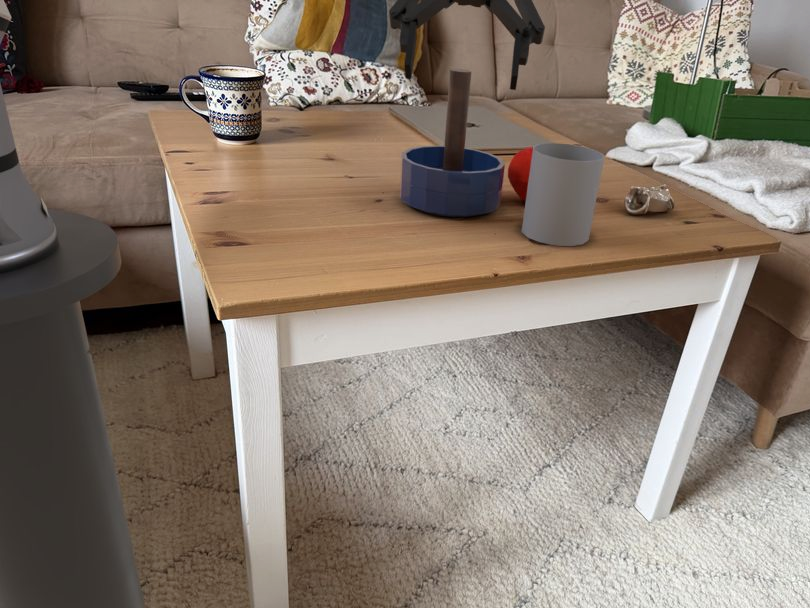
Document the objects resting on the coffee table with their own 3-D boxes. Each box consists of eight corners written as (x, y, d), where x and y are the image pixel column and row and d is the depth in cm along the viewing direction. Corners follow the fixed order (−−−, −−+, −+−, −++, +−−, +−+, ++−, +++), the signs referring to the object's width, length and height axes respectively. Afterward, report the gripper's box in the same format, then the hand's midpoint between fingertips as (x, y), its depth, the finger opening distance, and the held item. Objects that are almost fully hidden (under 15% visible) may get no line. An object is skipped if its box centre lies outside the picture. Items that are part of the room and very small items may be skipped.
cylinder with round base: (435, 203, 87) (444, 71, 79) (432, 193, 91) (441, 66, 83) (468, 205, 88) (481, 74, 80) (464, 194, 91) (476, 69, 83)
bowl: (402, 217, 83) (404, 169, 80) (397, 186, 94) (399, 142, 91) (507, 222, 85) (513, 175, 82) (489, 191, 96) (494, 148, 93)
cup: (548, 249, 78) (562, 163, 73) (508, 226, 84) (518, 144, 79) (602, 241, 82) (619, 159, 77) (560, 219, 88) (573, 141, 83)
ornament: (647, 200, 99) (653, 176, 97) (682, 215, 94) (689, 190, 93) (607, 205, 95) (612, 179, 94) (641, 221, 90) (647, 194, 89)
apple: (500, 190, 97) (506, 138, 93) (553, 193, 98) (561, 142, 94) (508, 208, 90) (515, 152, 86) (565, 211, 91) (575, 156, 87)
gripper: (562, -24, 95) (553, 105, 89) (386, -43, 95) (366, 86, 89) (572, -70, 88) (563, 68, 82) (382, -90, 87) (360, 46, 82)
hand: (460, 77), depth 86 cm, fingers open, 13 cm apart
